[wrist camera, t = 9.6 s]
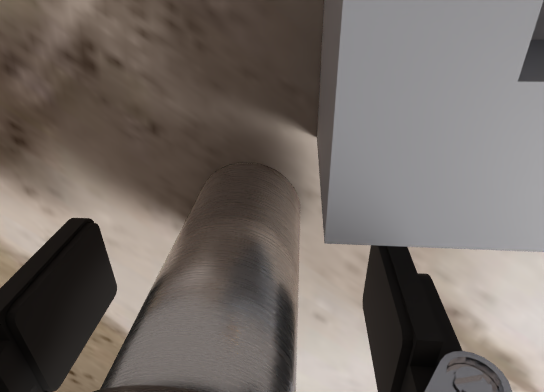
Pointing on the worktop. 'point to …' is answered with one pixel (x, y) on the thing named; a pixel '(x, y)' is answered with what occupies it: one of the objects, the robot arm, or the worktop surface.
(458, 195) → the block
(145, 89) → the worktop surface
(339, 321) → the worktop surface
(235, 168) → the grey capped cylinder
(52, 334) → the robot arm
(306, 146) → the worktop surface
